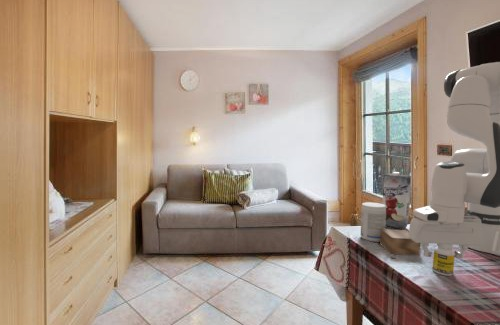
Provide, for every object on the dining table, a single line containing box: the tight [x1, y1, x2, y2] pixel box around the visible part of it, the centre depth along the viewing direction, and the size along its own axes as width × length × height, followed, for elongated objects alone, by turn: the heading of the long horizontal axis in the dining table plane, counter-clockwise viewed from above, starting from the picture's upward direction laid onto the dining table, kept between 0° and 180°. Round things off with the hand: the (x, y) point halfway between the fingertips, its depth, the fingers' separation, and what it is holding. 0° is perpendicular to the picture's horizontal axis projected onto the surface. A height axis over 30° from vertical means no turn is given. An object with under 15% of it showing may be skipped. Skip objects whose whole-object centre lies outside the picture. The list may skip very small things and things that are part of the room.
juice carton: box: [382, 171, 412, 230], centre depth 131 cm, size 9×10×27 cm
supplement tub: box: [360, 201, 386, 243], centre depth 115 cm, size 10×10×15 cm
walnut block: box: [380, 228, 421, 256], centre depth 105 cm, size 10×10×6 cm
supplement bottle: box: [432, 244, 456, 277], centre depth 86 cm, size 5×5×10 cm
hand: (442, 256), depth 86 cm, fingers open, 8 cm apart
